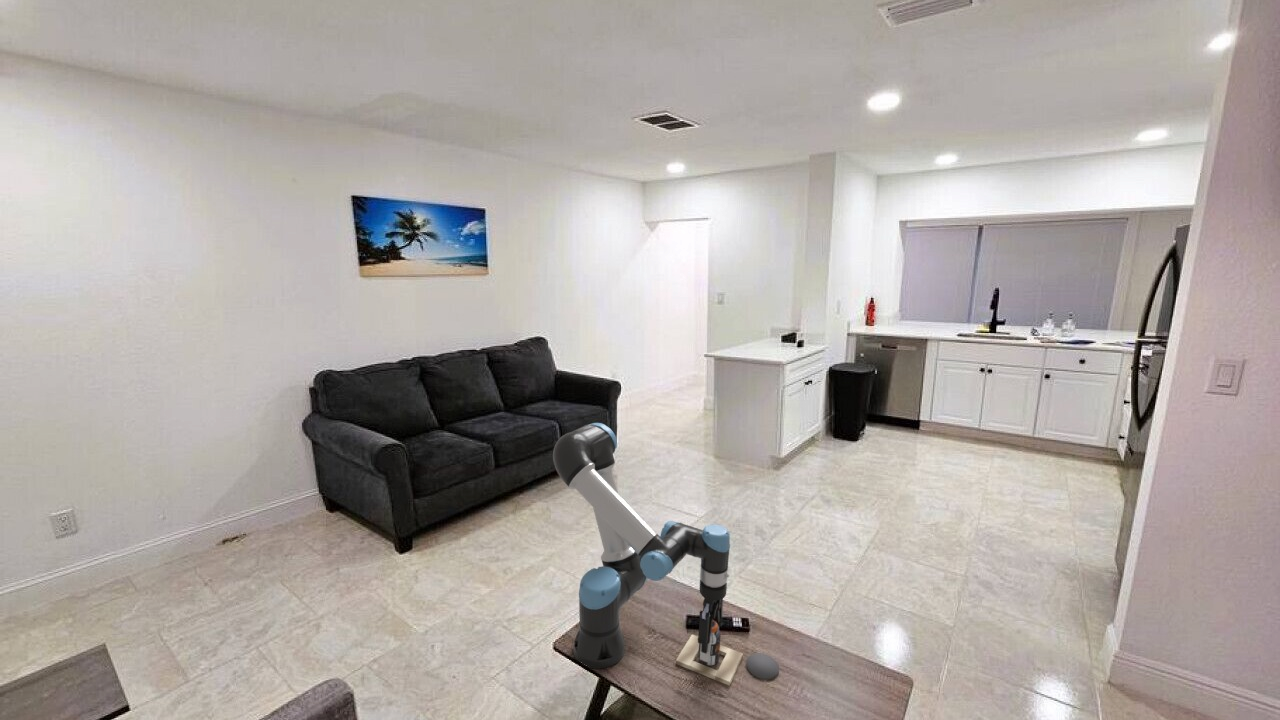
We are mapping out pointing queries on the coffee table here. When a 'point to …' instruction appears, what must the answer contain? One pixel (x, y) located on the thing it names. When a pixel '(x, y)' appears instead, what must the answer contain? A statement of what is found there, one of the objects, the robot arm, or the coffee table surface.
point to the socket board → (721, 675)
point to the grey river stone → (762, 666)
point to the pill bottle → (713, 645)
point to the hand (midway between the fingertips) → (708, 652)
